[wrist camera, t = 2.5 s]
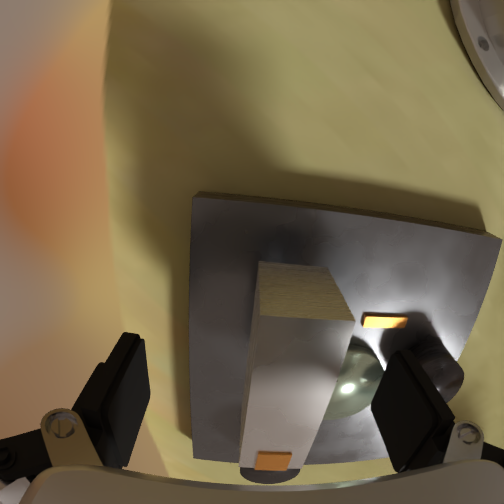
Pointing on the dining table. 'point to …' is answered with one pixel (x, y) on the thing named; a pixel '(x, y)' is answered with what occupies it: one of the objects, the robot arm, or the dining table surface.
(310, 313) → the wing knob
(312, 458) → the base
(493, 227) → the dining table surface
